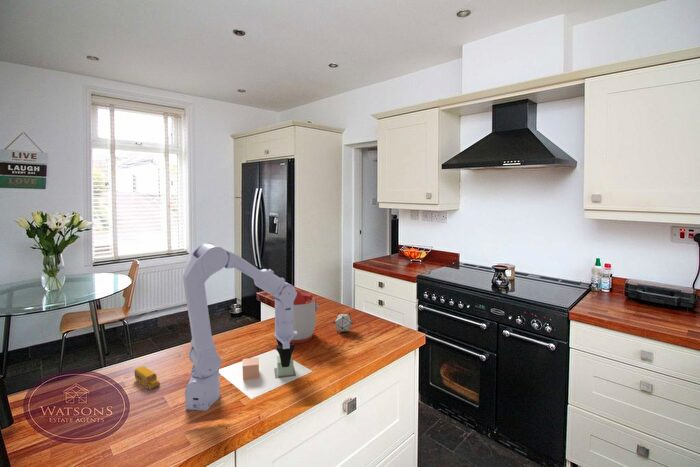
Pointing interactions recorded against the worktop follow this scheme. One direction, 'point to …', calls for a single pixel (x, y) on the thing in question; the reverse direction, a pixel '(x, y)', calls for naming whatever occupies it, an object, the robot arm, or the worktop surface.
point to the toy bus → (146, 378)
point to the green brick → (284, 368)
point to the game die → (343, 322)
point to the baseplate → (262, 375)
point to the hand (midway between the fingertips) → (284, 360)
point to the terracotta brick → (250, 368)
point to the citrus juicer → (303, 317)
